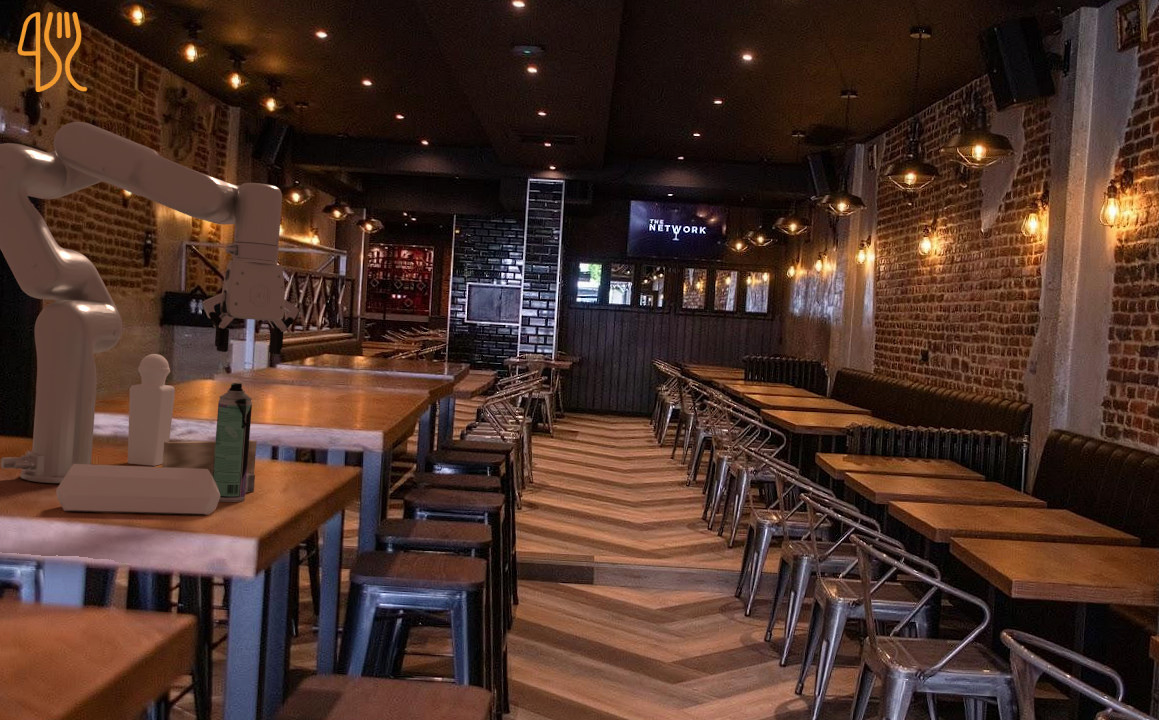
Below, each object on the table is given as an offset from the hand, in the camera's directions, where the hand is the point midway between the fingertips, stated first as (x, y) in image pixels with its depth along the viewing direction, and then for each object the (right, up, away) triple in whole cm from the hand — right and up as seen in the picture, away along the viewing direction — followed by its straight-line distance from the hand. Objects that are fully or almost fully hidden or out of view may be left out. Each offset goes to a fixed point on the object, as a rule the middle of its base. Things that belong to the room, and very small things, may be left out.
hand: (248, 352), depth 183 cm
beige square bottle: (-29, -22, +26) cm, 45 cm away
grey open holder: (-7, -25, +5) cm, 26 cm away
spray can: (-2, -25, -4) cm, 26 cm away
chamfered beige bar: (-11, -25, -19) cm, 34 cm away
